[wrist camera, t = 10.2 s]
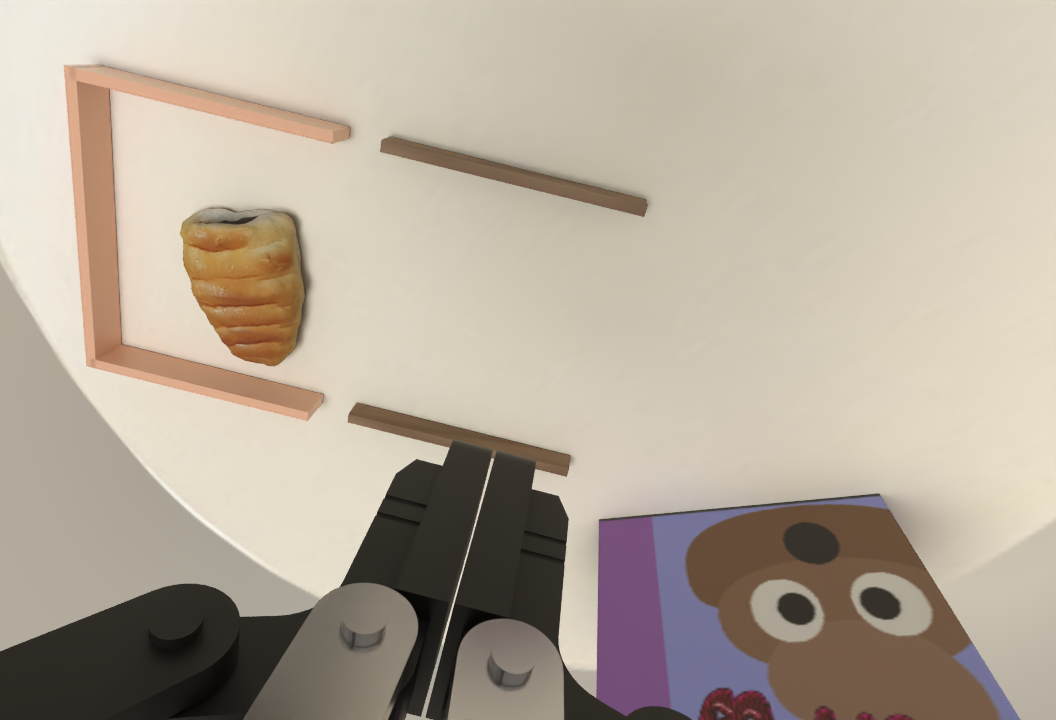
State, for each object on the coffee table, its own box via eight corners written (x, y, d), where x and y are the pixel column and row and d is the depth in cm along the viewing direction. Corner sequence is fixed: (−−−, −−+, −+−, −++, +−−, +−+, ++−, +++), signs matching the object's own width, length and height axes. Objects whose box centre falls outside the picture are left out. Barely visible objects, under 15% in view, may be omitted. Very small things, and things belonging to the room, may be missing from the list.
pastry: (327, 354, 42) (301, 381, 38) (226, 354, 42) (191, 380, 39) (298, 203, 38) (267, 218, 34) (188, 206, 39) (146, 220, 35)
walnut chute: (390, 136, 35) (381, 139, 34) (645, 199, 35) (647, 205, 34) (356, 410, 43) (347, 422, 41) (567, 463, 43) (566, 476, 41)
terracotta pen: (97, 64, 36) (63, 65, 33) (349, 126, 35) (333, 131, 33) (112, 350, 43) (86, 366, 41) (322, 402, 43) (307, 420, 41)
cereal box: (879, 493, 41) (1183, 980, 20) (878, 554, 43) (1155, 1060, 21) (599, 519, 44) (592, 964, 23) (609, 575, 46) (612, 1036, 24)
